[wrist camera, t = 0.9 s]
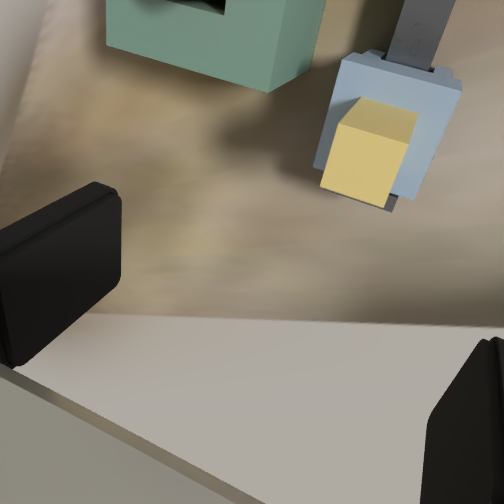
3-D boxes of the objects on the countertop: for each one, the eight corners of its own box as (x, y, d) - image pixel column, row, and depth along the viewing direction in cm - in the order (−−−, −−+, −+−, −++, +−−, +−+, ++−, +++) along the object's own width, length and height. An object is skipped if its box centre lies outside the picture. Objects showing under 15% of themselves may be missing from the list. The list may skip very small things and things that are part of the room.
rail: (554, -194, 20) (578, -239, 16) (400, 183, 31) (391, 212, 27) (456, -207, 21) (455, -252, 17) (339, 163, 32) (322, 189, 28)
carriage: (461, 72, 26) (462, 118, 17) (421, 166, 29) (404, 247, 20) (362, 46, 27) (314, 76, 18) (334, 139, 30) (282, 204, 21)
